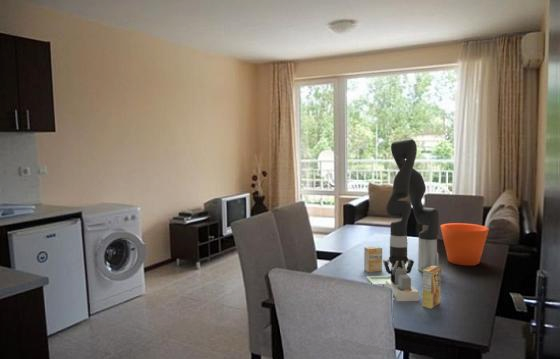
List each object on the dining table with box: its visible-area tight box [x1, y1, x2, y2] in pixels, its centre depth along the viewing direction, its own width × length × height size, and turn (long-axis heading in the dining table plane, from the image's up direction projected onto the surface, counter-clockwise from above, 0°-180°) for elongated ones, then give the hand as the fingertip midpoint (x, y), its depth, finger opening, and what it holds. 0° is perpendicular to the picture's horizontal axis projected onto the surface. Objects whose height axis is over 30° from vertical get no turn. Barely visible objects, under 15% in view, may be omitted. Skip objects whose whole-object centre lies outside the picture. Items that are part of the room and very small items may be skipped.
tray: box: [366, 275, 391, 287], centre depth 196 cm, size 14×12×2 cm
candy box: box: [421, 265, 442, 309], centre depth 168 cm, size 9×4×15 cm, turn 137°
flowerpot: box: [439, 222, 490, 266], centre depth 232 cm, size 25×25×20 cm
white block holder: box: [385, 274, 419, 302], centre depth 181 cm, size 16×9×10 cm, turn 3°
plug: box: [393, 267, 404, 285], centre depth 184 cm, size 4×4×9 cm
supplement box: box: [363, 246, 383, 273], centre depth 214 cm, size 8×5×13 cm, turn 105°
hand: (398, 282), depth 185 cm, fingers closed on plug, 4 cm apart
